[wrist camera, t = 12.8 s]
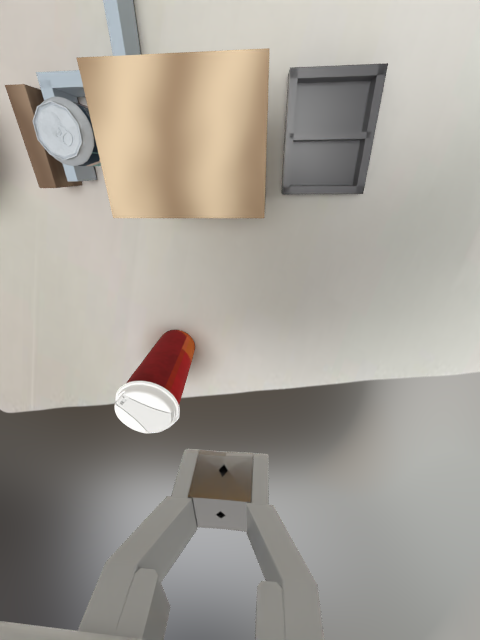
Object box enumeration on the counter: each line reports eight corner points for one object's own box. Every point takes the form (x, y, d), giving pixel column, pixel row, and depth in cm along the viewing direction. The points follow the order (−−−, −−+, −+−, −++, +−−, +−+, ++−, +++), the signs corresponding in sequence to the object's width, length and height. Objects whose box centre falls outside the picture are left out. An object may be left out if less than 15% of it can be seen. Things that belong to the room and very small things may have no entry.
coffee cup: (145, 344, 47) (98, 413, 34) (171, 314, 43) (130, 377, 30) (184, 371, 49) (154, 445, 36) (212, 344, 46) (190, 416, 33)
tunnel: (268, 101, 29) (269, 48, 16) (265, 198, 34) (264, 219, 21) (159, 104, 30) (76, 57, 17) (171, 199, 35) (113, 219, 22)
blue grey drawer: (130, -18, 26) (109, -47, 22) (158, 179, 34) (146, 180, 30) (38, -11, 26) (4, -38, 23) (87, 179, 34) (67, 181, 31)
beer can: (115, 107, 31) (38, 76, 20) (151, 138, 32) (96, 125, 21) (98, 146, 33) (20, 137, 22) (133, 174, 34) (74, 178, 23)
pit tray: (378, 71, 27) (388, 63, 25) (356, 191, 33) (362, 193, 31) (288, 74, 28) (290, 67, 26) (281, 192, 33) (282, 194, 31)
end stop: (58, 95, 31) (24, 84, 26) (82, 185, 35) (56, 187, 31) (41, 96, 31) (4, 85, 26) (67, 185, 35) (39, 187, 31)
